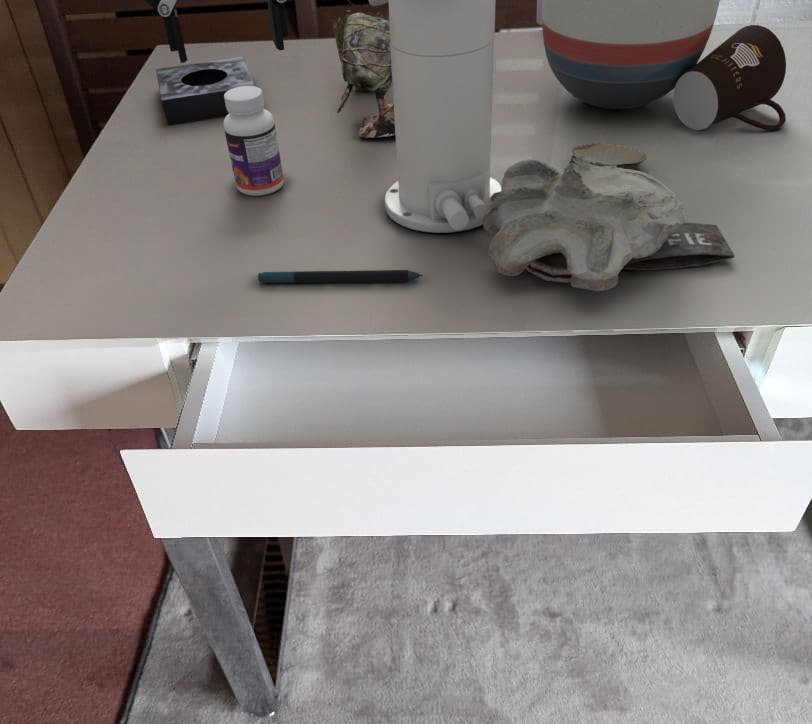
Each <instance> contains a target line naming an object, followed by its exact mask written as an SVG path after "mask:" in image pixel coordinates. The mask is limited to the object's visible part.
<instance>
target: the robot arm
mask: <svg viewBox="0 0 812 724" xmlns="http://www.w3.org/2000/svg"><path fill="white" fill-rule="evenodd" d="M143 1H144V2H146V3H147V4H148V5H149V6H150V7H152V9H154V10H155V11H157V12H158V14H159V15H160V16H161V17H162V19H163V24H164V28H165V33H166V37H167V41H168V46H169V50H170V52H171V53H172V52H177V53H178V57H179V61H180V64H184V63H186V62H187V61H189V60H188V56H187V52H186V47H185V43H184V38H183V33H182V28H181V23H180V20H179V15H178V11H177V9H176V8H175V4H176V3H177V1H178V0H143ZM285 2H287V0H266V3H267V9H268V17H269V23H270V31H271V37H272V42H273V44H274V46H275V48H276V50H278V51H285V42H284V38H288V37H289V28H288V20H287V19H288V18H287V12H286V11H287V10H286V3H285ZM388 20H389V27H390V51H391V68H392V84H391V86H392V99H393V100H392V101H393V102H392V103H394V119H395V134H394V136H395V149H396V152H395V153H396V166H397V167H396V168H397V181H395V182H394V183H393V184H392V185H390V186H389V187H388V189H387V190H386V192H385V195H384V209H385V212H386V214H387V215H388V217H389V218H390V219H391V220H392V221H394V222H395V223H396V224H398V225H400V226H402V227H404V228H406V229H410V230H413V231H418V232H423V233H434V234H448V233H457V232H463V231H469V230H473V229H475V228H478V227H481V226H484V225H483V217H484V212H485V209H486V206H487V203H488V201H489V199H490V197H491V196H492V195H493V194H494V193H497V192H500V191H501V183H499V182H498V181H497V180H496V179H494V178H493V177H492V176H491V159H492V158H491V156H492V155H491V153H492V121H493V120H492V119H493V118H492V116H493V87H494V86H493V85H494V82H493V80H494V79H493V78H494V76H493V75H494V50H495V49H494V45H495V43H494V41H495V34H496V33H495V32H496V0H389V2H388Z"/></svg>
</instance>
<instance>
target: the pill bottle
mask: <svg viewBox="0 0 812 724" xmlns="http://www.w3.org/2000/svg"><path fill="white" fill-rule="evenodd" d="M224 99H225V104H226V108H227V111H228V112H229V114H228V115H227V116H225V118H224V120H223V130H224V131H223V132H224V135H225V140H226V145H227V149H228V150H227V151H228V153H229V158H230V163H231V169H232V172H233V177H234V182H235V186H236V188H237V191H239V192H240V193H242V194H244V195H247V196H255V197H256V196H257V197H258V196H259V197H261V196H266V195H269V194H272V193H275V192H276V191H278V190H280V189H281V188H282V187H283V185H284V183H285V180H284V171H283V166H282V165H283V164H282V160H281V154H280V148H279V142H278V136H277V129H276V123H275V119H274V116H273V114H272V113H271V112H270V111H268V110H267V109H265V98H264V94H263V90H262V89H261V88H260V87H258V86H256V85H255V86H241V87H236V88H233V89H230V90H228V91H227V92H226V93H225V94H224Z"/></svg>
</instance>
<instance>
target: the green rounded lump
mask: <svg viewBox="0 0 812 724" xmlns="http://www.w3.org/2000/svg"><path fill="white" fill-rule="evenodd" d="M349 15H351V14H350V12H348V13H346V15H345V16H344V18H343V19H342V18H341V16H338V20H337V21H336V20H333V23H332V28H333V33H334V34H333V35H334V38H335V43H336V48H337V53H338V58H339V61H340V64H341V65H342V58H341V54H342V51H343V40H344V29H345V23H346V19H347V18H348V16H349ZM368 15H369V16H372V17H376V18H383V19H385V20H386V19H387V20H388V21H389V15H387V16H386V17H385V16H384V15H383V14H382V13H381V12H377V13H376V14H374V13H372V12H369V13H368ZM353 88H354V89H355V90H356V91H359V92H367V93H368V92H371V91H370V90H369V89H362V88H358V87H356V86H353Z"/></svg>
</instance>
